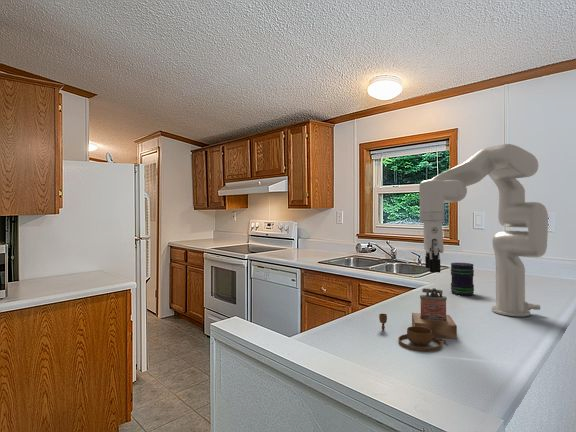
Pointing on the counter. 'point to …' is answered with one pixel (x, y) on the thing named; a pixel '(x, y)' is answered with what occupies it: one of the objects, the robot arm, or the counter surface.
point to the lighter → (433, 305)
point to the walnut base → (437, 326)
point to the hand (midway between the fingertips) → (432, 269)
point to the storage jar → (462, 279)
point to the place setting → (416, 337)
